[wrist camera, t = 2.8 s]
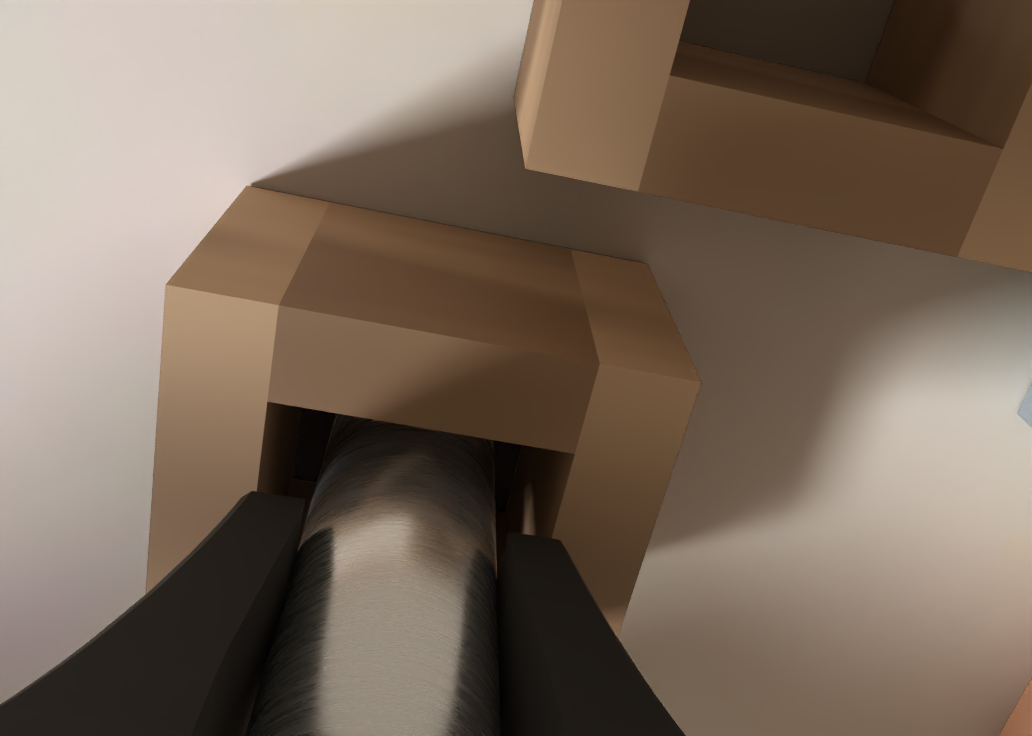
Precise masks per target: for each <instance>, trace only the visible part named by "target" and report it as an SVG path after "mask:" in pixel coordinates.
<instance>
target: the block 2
mask: <svg viewBox="0 0 1032 736" xmlns="http://www.w3.org/2000/svg"><path fill="white" fill-rule="evenodd" d="M689 2H690V0H534V2H533V7H532V12H531V16H530V21H529V26H528V31H527V36H526V40H525V45H524V50H523V55H522V60H521V64H520V69H519V74H518V79H517V84H516V88H515V93H514V103H515V109H516V115H517V121H518V127H519V133H520V139H521V146H522V152H523V158H524V164H525V169H529V170H534V171H539V172H544V173H549V174H553V175H558V176H563V177H568V178H573V179H578V180H583V181H588V182H593V183H597V184H602V185H607V186H612V187H617V188H622V189H627V190H632V191H637V192H641V193H646V194H651V195H656V196H661V197H666V198H671V199H676V200H681V201H685V202H690V203H695V204H700V205H705V206H710V207H715V208H720V209H724V210H729V211H734V212H739V213H744V214H749V215H754V216H759V217H764V218H768V219H773V220H778V221H783V222H788V223H793V224H798V225H803V226H808V227H812V228H817V229H822V230H827V231H832V232H837V233H842V234H847V235H851V236H856V237H861V238H866V239H871V240H876V241H881V242H886V243H891V244H895V245H900V246H905V247H910V248H915V249H920V250H925V251H930V252H935V253H939V254H944V255H949V256H954V257H959V258H964V259H969V260H974V261H979V262H983V263H988V264H993V265H998V266H1003V267H1008V268H1013V269H1018V270H1022V271H1027V272H1032V0H895V3H894V6H893V9H892V12H891V14H890V17H889V20H888V23H887V26H886V28H885V31H884V34H883V37H882V40H881V42H880V45H879V48H878V51H877V54H876V56H875V59H874V62H873V65H872V68H871V70H870V73H869V76H868V79H867V82H866V83H863V82H858V81H854V80H849V79H845V78H840V77H836V76H831V75H827V74H823V73H818V72H814V71H809V70H805V69H800V68H796V67H791V66H787V65H783V64H778V63H774V62H769V61H765V60H760V59H756V58H751V57H747V56H743V55H738V54H734V53H729V52H725V51H720V50H716V49H711V48H707V47H703V46H698V45H694V44H689V43H685V42H680V41H679V39H680V35H681V32H682V28H683V24H684V21H685V17H686V13H687V10H688V6H689Z"/></svg>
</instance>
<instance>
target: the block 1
mask: <svg viewBox="0 0 1032 736" xmlns="http://www.w3.org/2000/svg"><path fill="white" fill-rule="evenodd" d="M700 385H701V380H700V378H699V376H698V373H697V371H696V369H695V367H694V365H693V362H692V360H691V358H690V356H689V354H688V351H687V349H686V347H685V345H684V343H683V341H682V338H681V336H680V334H679V332H678V330H677V327H676V325H675V323H674V321H673V319H672V316H671V314H670V312H669V310H668V308H667V305H666V303H665V301H664V299H663V297H662V295H661V292H660V290H659V288H658V286H657V284H656V281H655V279H654V277H653V275H652V273H651V270H650V268H649V266H648V264H644V263H639V262H634V261H629V260H624V259H618V258H613V257H608V256H603V255H598V254H593V253H588V252H583V251H578V250H572V249H567V248H562V247H557V246H552V245H547V244H542V243H537V242H532V241H526V240H521V239H516V238H511V237H506V236H501V235H496V234H491V233H486V232H480V231H475V230H470V229H465V228H460V227H455V226H450V225H445V224H440V223H434V222H429V221H424V220H419V219H414V218H409V217H404V216H399V215H394V214H389V213H383V212H378V211H373V210H368V209H363V208H358V207H353V206H348V205H343V204H337V203H332V202H327V201H322V200H317V199H312V198H307V197H302V196H297V195H291V194H286V193H281V192H276V191H271V190H266V189H261V188H256V187H251V186H246V187H245V188H244V190H243V191H242V192H241V193H240V195H239V196H238V197H237V198H236V199H235V201H234V202H233V203H232V204H231V206H230V207H229V208H228V209H227V210H226V212H225V213H224V214H223V215H222V217H221V218H220V219H219V220H218V221H217V223H216V224H215V225H214V226H213V228H212V229H211V230H210V231H209V232H208V234H207V235H206V236H205V237H204V239H203V240H202V241H201V242H200V243H199V245H198V246H197V247H196V248H195V250H194V251H193V252H192V253H191V254H190V256H189V257H188V258H187V259H186V261H185V262H184V263H183V264H182V265H181V267H180V268H179V269H178V270H177V272H176V273H175V274H174V275H173V276H172V278H171V279H170V280H169V281H168V283H167V284H166V289H165V304H164V319H163V335H162V350H161V365H160V381H159V396H158V412H157V427H156V442H155V458H154V473H153V488H152V504H151V519H150V534H149V550H148V565H147V580H146V594H147V593H148V592H149V591H150V590H151V589H152V588H153V587H154V586H156V585H157V584H158V583H159V582H160V581H161V580H162V579H163V578H164V577H165V576H166V575H167V574H168V573H169V572H171V571H172V570H173V569H174V568H175V567H176V566H177V565H178V564H179V563H180V562H181V561H182V560H183V559H184V558H185V557H187V556H188V555H189V554H190V553H191V552H192V551H193V550H194V549H195V548H196V547H197V545H198V544H199V543H200V542H201V541H202V540H203V539H204V538H205V537H206V536H207V535H208V534H209V533H210V532H211V531H212V530H213V529H214V528H215V527H216V526H217V525H218V524H219V523H220V521H221V520H222V519H223V518H224V517H225V516H226V515H227V514H228V512H229V511H230V510H231V509H232V508H233V507H234V506H235V504H236V503H237V502H238V501H239V499H240V498H241V497H243V496H244V495H246V494H248V493H249V492H251V491H257V492H263V493H269V494H276V495H282V496H288V497H295V498H301V499H305V504H304V511H303V518H302V525H301V532H300V539H299V543H300V540H301V536H302V533H303V529H304V525H305V522H306V518H307V515H308V511H309V508H310V504H311V501H312V497H313V494H314V490H315V487H316V483H317V482H311V481H304V480H298V479H292V478H293V471H294V464H295V456H296V449H297V442H298V434H299V427H300V420H301V412H302V408H308V409H314V410H320V411H326V412H331V413H337V414H343V415H349V416H355V417H361V418H367V419H373V420H379V421H384V422H390V423H396V424H402V425H408V426H414V427H420V428H426V429H431V430H437V431H443V432H449V433H455V434H461V435H467V436H473V437H479V438H484V439H490V440H496V441H502V442H508V443H514V444H520V445H522V446H521V450H520V454H519V458H518V462H517V466H516V470H515V474H514V478H513V482H512V486H511V490H510V494H509V498H508V502H507V506H506V510H505V513H503V512H497V511H495V517H496V560H497V579H498V576H499V572H500V568H501V564H502V560H503V556H504V552H505V548H506V544H507V540H508V536H509V532H515V533H521V534H527V535H534V536H540V537H546V538H553V539H559V540H561V542H562V543H563V545H564V546H565V548H566V549H567V551H568V553H569V555H570V557H571V558H572V560H573V562H574V564H575V566H576V567H577V569H578V571H579V573H580V575H581V577H582V578H583V580H584V582H585V584H586V585H587V587H588V589H589V591H590V592H591V594H592V596H593V598H594V599H595V601H596V603H597V605H598V606H599V608H600V610H601V611H602V613H603V615H604V617H605V618H606V620H607V621H608V623H609V625H610V626H611V628H612V630H613V631H614V633H615V635H616V636H617V638H618V634H619V631H620V628H621V625H622V622H623V619H624V616H625V613H626V610H627V607H628V604H629V601H630V598H631V595H632V592H633V589H634V586H635V583H636V580H637V577H638V574H639V571H640V568H641V565H642V562H643V558H644V555H645V552H646V549H647V546H648V543H649V540H650V537H651V534H652V531H653V528H654V525H655V522H656V519H657V516H658V513H659V510H660V507H661V504H662V501H663V498H664V495H665V492H666V489H667V486H668V483H669V479H670V476H671V473H672V470H673V467H674V464H675V461H676V458H677V455H678V452H679V449H680V446H681V443H682V440H683V437H684V434H685V431H686V428H687V425H688V422H689V419H690V416H691V413H692V410H693V407H694V404H695V400H696V397H697V394H698V391H699V388H700ZM298 547H299V545H298Z"/></svg>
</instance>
